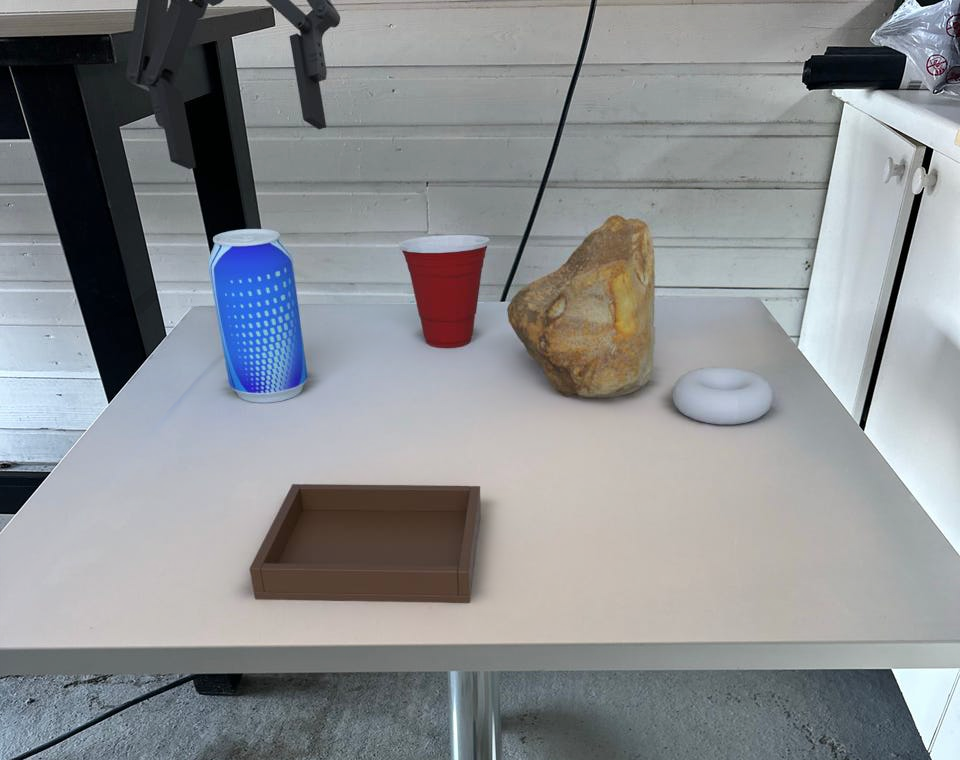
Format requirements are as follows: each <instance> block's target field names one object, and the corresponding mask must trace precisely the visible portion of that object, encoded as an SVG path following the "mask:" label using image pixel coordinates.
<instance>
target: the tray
mask: <svg viewBox="0 0 960 760" xmlns="http://www.w3.org/2000/svg"><path fill="white" fill-rule="evenodd" d="M481 507H482V505H481V486H480V485H436V484H435V485H433V484H432V485H430V484H429V485H427V484H425V485H424V484H422V485H421V484H418V485H417V484H335V483H334V484H331V483H330V484H329V483H326V484H322V483H320V484H319V483H317V484H315V483H314V484H313V483H302V484H301V483H292V484H291V486H290V488H289V490H288V492H287V493H286V496H285V497H284V499H283V502H282V504H281V505H280V508H279V510H278V511H277V513H276V515H275V517H274V520H273V521H272V523H271V525H270V527H269V529H268V531H267V533H266V535H265V537H264V539H263V541H262V544H261V546H260V547H259V549H258V551H257V552H256V554H255V556H254V559H253V561H252V562H251V565H250V566H249V574H250V579H251V584H252V589H253V595H254V596H253V597H254V599H255V600H285V601H286V600H287V601H289V600H290V601H291V600H293V601H342V602H343V601H344V602H345V601H346V602H347V601H348V602H349V601H350V602H352V601H353V602H402V603H405V602H406V603H407V602H409V603H459V604H460V603H465V604H468V603H471V595H472V587H473V580H474V571H475V563H476V555H477V546H478V541H479V540H478V539H479V531H480V525H481V524H480V522H481V517H482V512H481V511H482V509H481Z"/></svg>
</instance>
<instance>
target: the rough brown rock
mask: <svg viewBox="0 0 960 760" xmlns="http://www.w3.org/2000/svg"><path fill="white" fill-rule="evenodd" d="M652 236H653V235H652V233H651V230H650V228H649V226H648V224H647V222H645V221H643V220H641V219H639V218H632V217H631V218H627V219H626V218H624V217H623V216H621V215H619V214H614V215H611V216H610V217H607V219H606V220H605V221H604V223H603V224H602V225H601V226H600V227H598V228H597V229H594V230H593V231H591V232H589V234H588V235H587V236H586V237H585V238H584V239H583V241H582V242H581V243H580V245H579V246H578V247H577V248H575V249H574V251H572V253H571V254H570V255H569V256H568V259H567V260H566V262H565V263H563V264H562V265H561V266H560V267H559V268H558V269H556V270H555V271H553V272H551V273H549V274H547V275H545V276H543V277H541V278H539V279H535V280H533V281H532V282H531V283H529V284H527V285H525V286H524V287H522V288H521V289H520V290H519V291H518V292H517V293H515V295H514V296H513V297H512V298H511V301H510V302H509V303H508V306H507V308H506V311H507V319H508V323H509V325H510V326H511V328H512V330H513V331H514V333H515V335H516V336H517V337H518V339H519V340H520V342H521V343H522V344H523V346H524V348H525V349H526V352H527V353H528V355H529V356H530V357H531V358H532V360H533V361H534V362H535V363H538V365H539V366H540V367H541V369H542V370H543V373H544V374H545V376H546V377H547V379H548V381H549V382H550V384H551V385H552V387H554V389H555V390H556V391H557V392H560V393H561V394H562V395H563V396H566V397H570V396H571V395H573V394H576V395H578V396H580V397H582V398H601V399H602V398H603V399H606V398H615V397H621V396H625V395H626V396H627V395H628V394H631V393H634V392H636V391H638V390H640V389H642V388H643V387H645V386H646V385H647V384H648V383H649V382H650V380H651V378H652V375H653V370H654V352H655V345H656V327H655V325H654V324H655V299H656V297H655V290H656V282H655V281H656V276H655V248H654V242H653V237H652Z"/></svg>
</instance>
